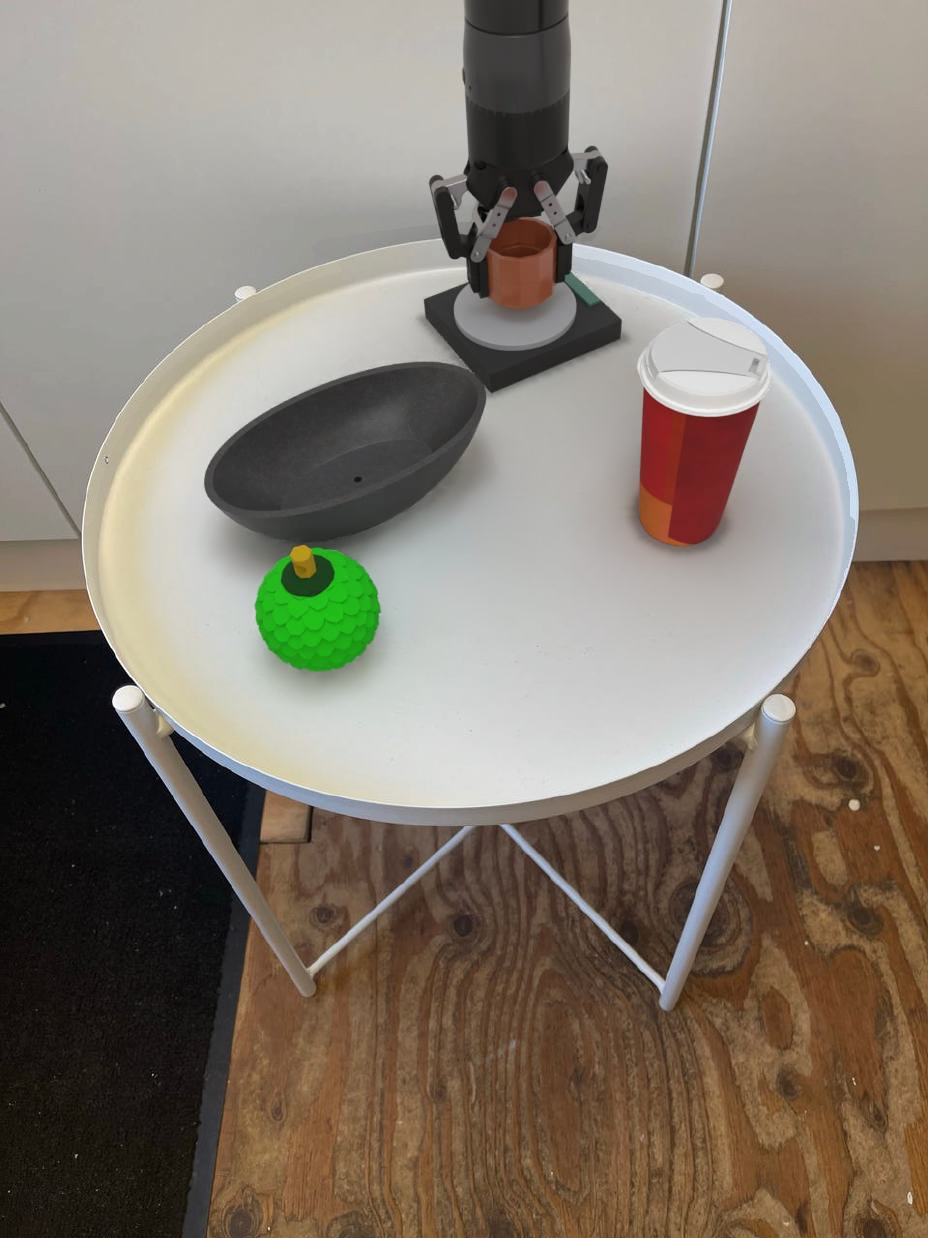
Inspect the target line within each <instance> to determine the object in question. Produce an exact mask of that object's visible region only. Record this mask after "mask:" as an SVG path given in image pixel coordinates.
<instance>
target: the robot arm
mask: <svg viewBox="0 0 928 1238" xmlns="http://www.w3.org/2000/svg"><path fill="white" fill-rule="evenodd" d="M569 9H570V0H463V14H464V15H463V19H464V22H463V23H464V26H463V40H462V68H461V75H462V76H461V77H462V82H463V85H464V99H465V101H464V102H465V113H466V114H465V119H466V135H467V152H468V153H467V161H466V164H465V167H464V168H463V171H462V173H461V174H458V175H455V176H452V177H449V178H446V179H445V178H444V177H443V176H442V175H440V174H434V175H433V176H431V177H430V178H429V181H428V186H429V190H430V194H431V198H432V203H433V207H434V211H435V216H436V220H437V223H438V228H439V233H440V237H441V240H442V243H443V245H444V248H445V249H446V253H447V254H448V257H449V258H450V259H451V260H454V261H455V260H459V259H460V258H464V259H465V267H466V279H467V282H469V284H470V287H471V289H472V291H473V293H478V295H479V297H480V299H482V298H487V297H489V287H488V263H487V259H486V257H485V255H486V253H487V251H488V248H489V246H490V244H491V242H492V240H493V239H495V238H496V237H497V235H498V233H499V231H500V229H501V226H502V224H503V223H507V222H512V221H515V220H517V219H519V218H521V217H528V218H538V217H541V216H542V213H543V212H545V214H546V216H547V218H548V219H549V221H550V223H551V226H552V228H553V230H554V232H555V233H556V235H557V261H556V262H557V267H556V284H557V283H562V282H565V275H569V274H570V272H572V270H573V246H574V242H575V240H576V238H577V237H578V236H580V235H581V234H583V233H584V234H592V233H593V232H594V231H596V230H597V227H598V223H599V217H600V211H601V207H602V201H603V197H604V191H605V186H606V181H607V176H608V171H609V165H608V163H607V161H606V159H605V157H604V156H603V154H602V153H601V151H600V150H599V148H598V147H597V146H595V145H590V146H587V147H586V148H585V149H584V151H583V152H571V151H570V149H569V140H570V106H571V105H570V104H571V103H570V102H571V77H572V75H571V73H572V39H571V27H570V13H569V12H570V11H569ZM573 172H574V176H575V177H576V179H577V181H578V184H577V189H576V195H575V201H574V207H573V211H572V212H570V213H568V214H565V212H564V210H563V208H562V206H561V205H560V203H559V201H558V199H557V196H558V194H559V193H560V191H561V190H562V188H563V187H564V185H565V184H566V182H567V181H568V179H569V178H570V177H571V175H572V173H573ZM466 192H468V193H469V194H470V195H471V196H472V197H473V198H474V199H475V200H476V201H475V204H474V206H473V208H472V211H471V219H470V223H469V224H468V227H467V228H466V229H467V230H466V232H465V234H464V233H460V230H459V225H458V222H457V216H456V212H455V211H458V210H459V209H460V207H461V205H462V202H463V201H462V198H463V196H464V194H465V193H466Z"/></svg>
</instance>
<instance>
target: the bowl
mask: <svg viewBox="0 0 928 1238" xmlns="http://www.w3.org/2000/svg"><path fill="white" fill-rule="evenodd" d="M486 404H487V390H486V387H485V385H484V384H483V383H482V382H481V380H480V379H479V378H478V377H477V376H476V375H475V374H474V373H473V372H472V371H471V370H468V369H467V368H465V367H462V366H459V365H456V364H451V363H447V362H440V361H409V362H408V361H407V362H400V363H393V364H387V365H382V366H377V367H373V368H368V369H365V370H361V371H358V372H354V373H351V374H348V375H345V376H341V377H338V378H335V379H334V380H330V381H327V382H324V383H322V384H319V385H317V386H314V387H312V388H309V389H307V390H305V391H303V392H300V393H299V394H297V395H294V396H292V397H289V398H288V399H286V400H284V401H282V402H280V403H278V404H277V405H275V406H273V407H271V408H269V409H267V410H266V411H264V412H262V413H261V414H259V415H258V416H257V417H255V418H254V419H252V420H250V421H249V422H248V423H246V424H245V425H244V426H242V427H241V428H239V430H237V431H236V432H235V433H233V434H232V435H231V436H230V437H229V438H228V439H227V440H225V442H224V443H223V444H222V445H221V446H220V447H219V448H218V450H217V451H216V452H215V453H214V455H213V457H212V458H211V459H210V462H209V463H208V464H207V467H206V470H205V473H204V478H203V487H204V491H205V494H206V496H207V498H208V499H209V500H210V502H211V503H212V504H213V505H214V506H215V507H217V508H218V510H219V511H221V512H222V513H223V514H224V515H225V516H227V517H228V518H229V519H231V520H232V521H233V522H235V523H237V524H239V525H241V526H242V527H244V528H245V529H247V530H250V531H252V532H254V533H256V534H259V535H262V536H265V537H269V538H272V539H275V540H276V539H277V540H282V541H289V542H300V543H315V542H324V541H330V540H336V539H340V538H344V537H348V536H352V535H354V534H357V533H360V532H364V531H365V530H369V529H371V528H373V527H376V526H378V525H380V524H382V523H384V522H387V521H388V520H390V519H392V518H394V517H396V516H397V515H400V514H401V513H403V512H405V511H406V510H408V509H409V508H411V507H412V506H414V505H415V504H417V503H418V502H419V501H421V500H422V499H423V498H424V497H425V496H426V495H428V493H430V492H431V491H432V490H433V489H435V488H436V487H437V485H439V484H440V483H441V482H442V480H444V478H445V477H446V476H447V475H448V474H449V473H450V472H451V471H452V469H453V468H454V467H455V466H456V464H457V463H458V462H459V460H460V459H461V458H462V456H463V455H464V453H465V452H466V450H467V448H468V446H469V445H470V443H471V442H472V440H473V438H474V437H475V433H476V432H477V429H478V427H479V425H480V422H481V420H482V418H483V415H484V411H485V408H486Z"/></svg>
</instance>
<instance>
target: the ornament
mask: <svg viewBox="0 0 928 1238" xmlns="http://www.w3.org/2000/svg"><path fill="white" fill-rule="evenodd" d="M256 595H257V597H256V599H255V602H254V608H255V611H256V612H255V622H256V625H257V626H258V631H259V633H260V636H261V638H262V640H263V642H265V644H266V646H267V648H268V650H269V651H270V652H271V653H273V654H275V655H276V656H277V658H279V659H280V661H281V662H283V663H285V664H289V665H290V666H292V668H295V669H298V670H303V669H305V670H308V671H309V672H313V673H314V672H315V673H318V672H329V671H330V672H331V671H332V670H338V669H342V668H343V667H345V666H346V665H347V664H350V663H353V661H355V659H356V658H358V657H360V656H361V655H362V654H364V652H365V651H366V649H367V647H368V645H370V644H371V643H372V642H373V641H374V638H375V635H376V631H377V629H378V628H379V625H380V615H379V614H380V613H382V611H381V603H380V601H379V596H378V595H379V591H378V588H377V586H376V585H375V583H374V581H373V579H372V578H371V575H370V573H369V572H368V571H366V568H365V567H364V566H363V565H362V564H360V563H359V562H357V560H356V559H354V558H352V557H350V556H348V555H346V554H344V553H342V552H341V551H339V550H336V549H328V548H327V549H324V548H323V547H312V548H310V547H308V546H307V545H306V544H301V545H298V546H294V547H293V548H292V549H291V552H290V554H289V555H287V556H284V557H283V558H280V559H279V560H278V561H277V562H276V563H275V564H274V566H273V567H272V568H271V570H269V571H268V572H267V573H266V574H265V575H264V576H263V580H262V582H261V584H260V586H259V587H258V590H257V592H256Z"/></svg>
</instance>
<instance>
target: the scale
mask: <svg viewBox="0 0 928 1238" xmlns="http://www.w3.org/2000/svg"><path fill="white" fill-rule="evenodd" d="M423 305H424V315H425V319H426V320H427V321H428V322H429V323H430V325H431V326H432V327H433V328H434V329H435V330H436V331H437V333H438V334H439V335H440V336H441V337H442V338H443V339H444V341H445V342H446V343H447V344H448V346H450V347H451V349H452V350H453V351H454V352H455V353H456V355H458V357H459V358H460V359H461V361H463V363H464V364H465V365H466V366H467V368H469V369H470V371H471V372H472V373H473V374H475V375H476V376H477V377H478V378H479V379H480V380H481V382H482V383H483V385H484V387H485V389H487V390H488V392H490V393H491V394H493V393H495V392H498V391H500V390H502V389H505V388H507V387H509V386H512V385H513V384H517V383H519V382H521V381H523V380H525V379H528V378H530V377H532V376H533V377H534V376H535V375H538V374H540V373H542V372H545V371H547V370H550V369H552V368H554V367H557V366H559V365H561V364H563V363H566V362H568V361H571V360H573V359H575V358H578V357H580V356H583V355H585V354H588V353H590V352H592V351H594V350H596V349H599V348H601V347H603V346H607V345H609V344H611V343H613V342H616V341H618V340H620V339H621V337H622V325H623V319H622V318H621V317H620V316H619V315H618V314H617V313H616V312H615V311H613V310H612V309H611V307H609V306H608V305H607V304H606V303H605V302H604V301H603V300H601V298H600V297H599V296H597V294H596V293H594V292H593V291H592V290H591V289H590V288H589V287H588V286H587V285H586V284H585V283H584V282H583V281H582V280H581V279H579V278H578V277H577V276H576V275H575V274H574V273H573V272H572V271H571V272H570V274H569V275H565V282H562V283H557V284H556V286H555V288H554V291H553V294H552V295H551V296H550V297H549V298H547V299H546V300H545V301H544V302H542V303H541V304H539V305H537V306H535V307H532V308H528V309H509V308H505V307H502V306H500V305H498V304H497V303H495V302H494V301H493V300H491V299H489V298H488V297H487V298H482V299H480V297H479V295H478V293H473V291H472V289H471V287H470V284H469V282H468V281H467V282H464V283H462V284H459V285H457V286H454V287H451V288H448V289H446V290H444V291H442V292H439V293H436V294H434V295H431V296H428V297H425V298H423Z"/></svg>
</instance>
